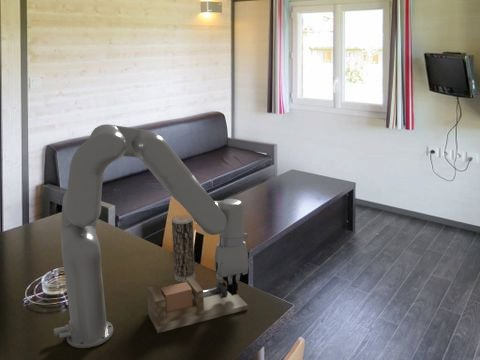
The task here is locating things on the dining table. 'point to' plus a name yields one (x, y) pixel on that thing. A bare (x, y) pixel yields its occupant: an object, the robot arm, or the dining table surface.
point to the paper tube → (183, 248)
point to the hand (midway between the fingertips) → (232, 293)
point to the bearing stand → (190, 308)
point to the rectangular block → (177, 296)
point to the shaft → (215, 291)
